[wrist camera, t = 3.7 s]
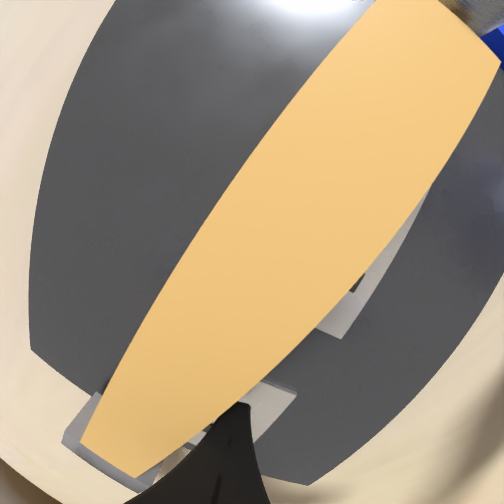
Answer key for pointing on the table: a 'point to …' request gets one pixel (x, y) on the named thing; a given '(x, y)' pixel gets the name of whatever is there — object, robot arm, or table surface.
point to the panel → (211, 190)
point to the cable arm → (291, 231)
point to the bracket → (496, 43)
